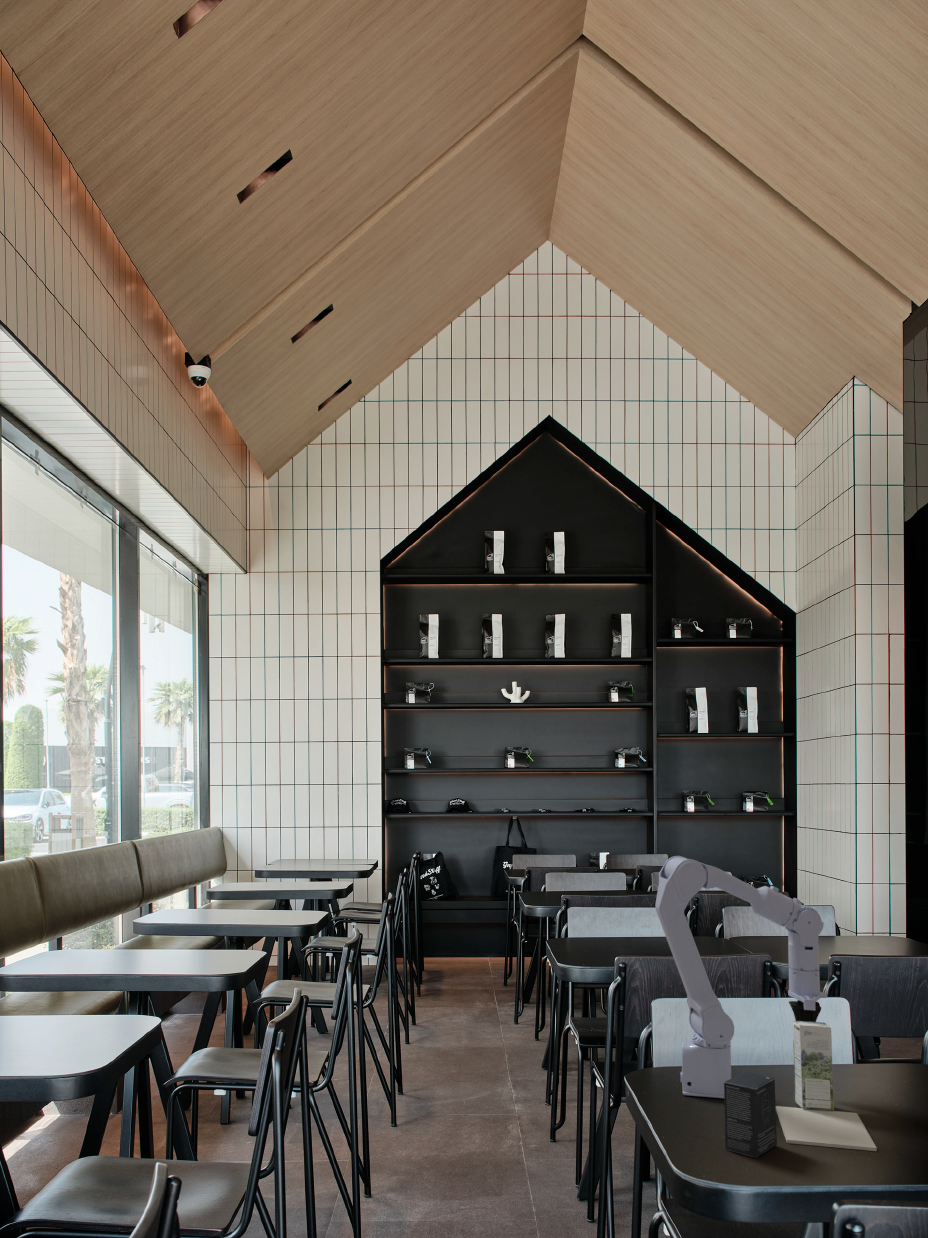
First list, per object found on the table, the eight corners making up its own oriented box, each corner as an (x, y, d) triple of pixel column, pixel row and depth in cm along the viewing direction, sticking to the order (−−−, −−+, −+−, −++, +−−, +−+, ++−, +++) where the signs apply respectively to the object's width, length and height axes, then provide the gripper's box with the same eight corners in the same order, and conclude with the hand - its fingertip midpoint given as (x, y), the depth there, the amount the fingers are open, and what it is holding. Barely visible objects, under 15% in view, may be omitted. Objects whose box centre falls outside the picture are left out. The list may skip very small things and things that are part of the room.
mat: (786, 1143, 167) (786, 1140, 167) (775, 1109, 184) (775, 1106, 184) (876, 1151, 164) (876, 1148, 164) (856, 1116, 181) (856, 1113, 181)
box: (745, 1138, 169) (744, 1071, 170) (777, 1146, 165) (776, 1078, 167) (723, 1150, 163) (722, 1080, 164) (757, 1159, 159) (755, 1088, 161)
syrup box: (826, 1105, 187) (822, 1021, 191) (834, 1112, 181) (831, 1025, 185) (794, 1103, 188) (791, 1019, 191) (802, 1109, 182) (799, 1024, 186)
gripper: (831, 976, 190) (833, 1053, 188) (819, 963, 204) (821, 1034, 202) (792, 974, 191) (793, 1050, 189) (783, 961, 205) (784, 1031, 203)
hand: (805, 1041), depth 195 cm, fingers closed
